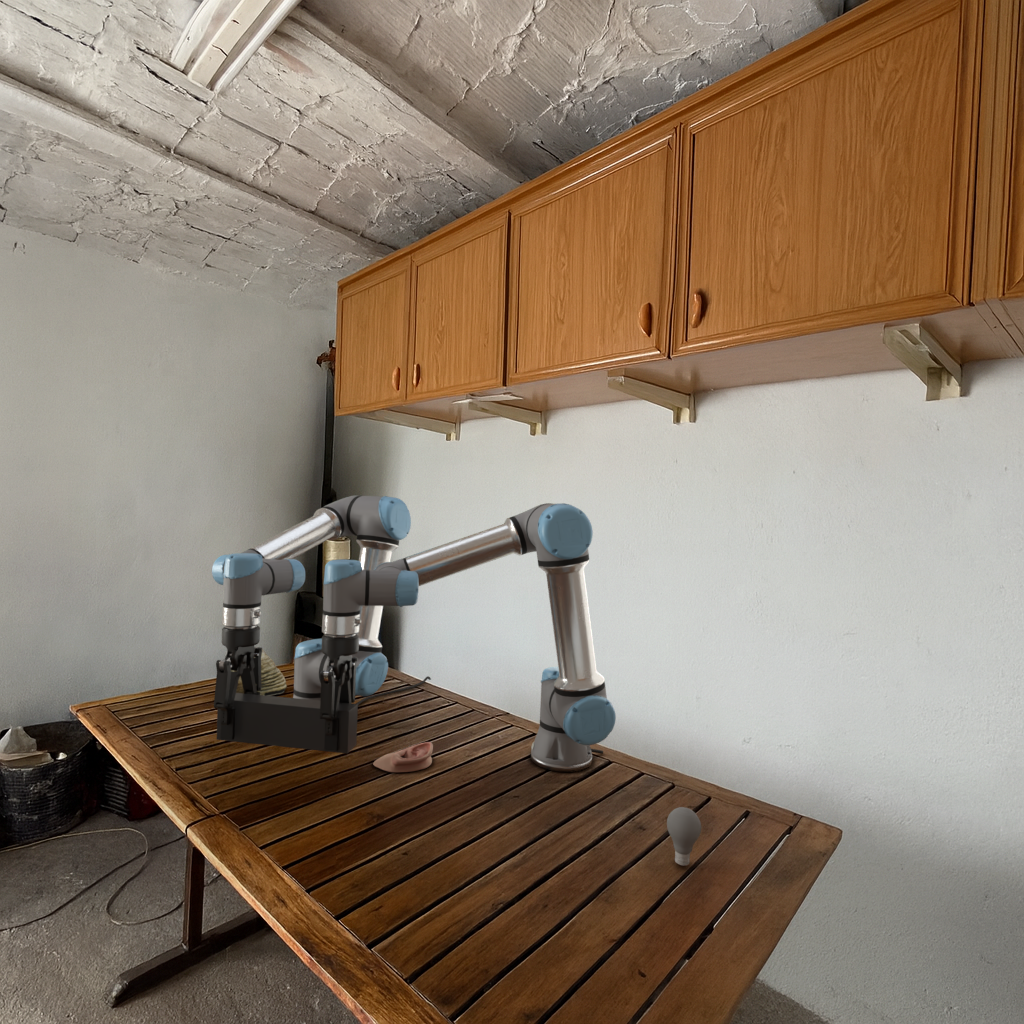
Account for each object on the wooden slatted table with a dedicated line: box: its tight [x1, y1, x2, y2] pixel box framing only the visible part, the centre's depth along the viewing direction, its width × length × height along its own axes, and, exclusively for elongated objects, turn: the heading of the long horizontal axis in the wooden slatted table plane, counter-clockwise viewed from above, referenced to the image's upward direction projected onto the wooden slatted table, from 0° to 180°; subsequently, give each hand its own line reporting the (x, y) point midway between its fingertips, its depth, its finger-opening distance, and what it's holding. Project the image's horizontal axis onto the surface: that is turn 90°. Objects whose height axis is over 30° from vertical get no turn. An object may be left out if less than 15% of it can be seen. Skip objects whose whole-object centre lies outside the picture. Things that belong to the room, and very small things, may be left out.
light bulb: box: [666, 806, 702, 867], centre depth 114 cm, size 6×6×10 cm
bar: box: [216, 693, 359, 754], centre depth 134 cm, size 29×5×9 cm, turn 81°
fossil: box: [231, 648, 288, 696], centre depth 198 cm, size 9×18×15 cm, turn 132°
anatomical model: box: [372, 741, 434, 773], centre depth 152 cm, size 13×4×12 cm
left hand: (237, 732), depth 136 cm, fingers open, 7 cm apart
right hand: (336, 744), depth 133 cm, fingers closed on bar, 5 cm apart
